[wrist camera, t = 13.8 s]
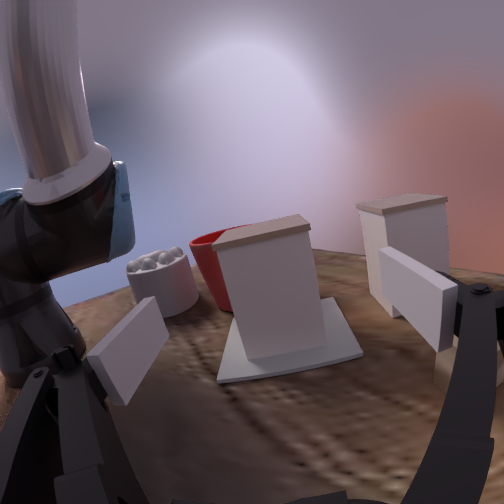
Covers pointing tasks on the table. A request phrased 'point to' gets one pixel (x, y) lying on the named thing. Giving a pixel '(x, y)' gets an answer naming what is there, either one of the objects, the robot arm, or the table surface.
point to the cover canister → (272, 286)
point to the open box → (446, 364)
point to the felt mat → (336, 351)
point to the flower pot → (211, 267)
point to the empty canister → (404, 235)
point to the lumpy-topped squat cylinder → (164, 280)
